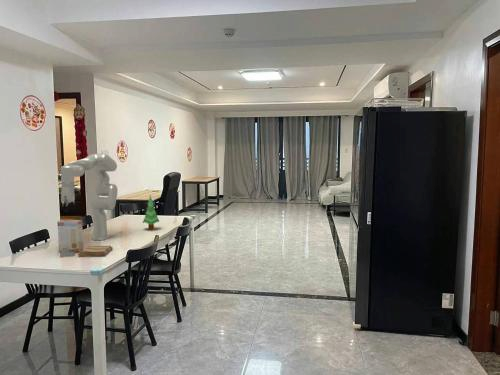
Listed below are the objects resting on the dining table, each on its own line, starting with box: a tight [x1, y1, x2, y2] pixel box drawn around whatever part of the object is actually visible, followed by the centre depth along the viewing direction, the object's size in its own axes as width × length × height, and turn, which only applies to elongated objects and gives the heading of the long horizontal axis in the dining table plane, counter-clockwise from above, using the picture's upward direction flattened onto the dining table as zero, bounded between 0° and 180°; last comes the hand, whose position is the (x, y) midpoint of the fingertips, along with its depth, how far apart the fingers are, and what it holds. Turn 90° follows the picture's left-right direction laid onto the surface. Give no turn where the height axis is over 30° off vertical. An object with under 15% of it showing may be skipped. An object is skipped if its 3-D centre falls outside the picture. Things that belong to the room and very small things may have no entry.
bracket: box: [59, 249, 76, 258], centre depth 226 cm, size 5×8×4 cm, turn 110°
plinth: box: [77, 245, 113, 258], centre depth 231 cm, size 16×16×3 cm
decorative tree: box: [142, 194, 160, 231], centre depth 302 cm, size 14×16×30 cm
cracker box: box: [57, 219, 84, 253], centre depth 235 cm, size 14×6×21 cm, turn 84°
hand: (69, 211), depth 233 cm, fingers open, 9 cm apart
